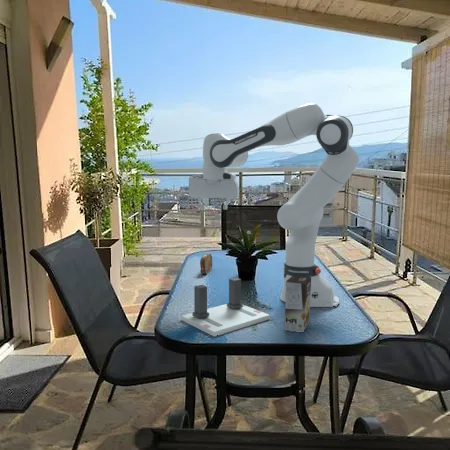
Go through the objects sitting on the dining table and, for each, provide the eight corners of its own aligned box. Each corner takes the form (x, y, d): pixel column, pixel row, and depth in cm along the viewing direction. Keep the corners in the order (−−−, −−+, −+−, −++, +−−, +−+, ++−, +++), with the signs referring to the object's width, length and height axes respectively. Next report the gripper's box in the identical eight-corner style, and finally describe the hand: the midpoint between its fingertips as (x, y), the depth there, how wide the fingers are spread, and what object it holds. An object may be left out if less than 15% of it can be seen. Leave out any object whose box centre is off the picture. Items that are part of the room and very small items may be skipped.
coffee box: (304, 333, 133) (305, 283, 131) (284, 330, 136) (285, 281, 134) (309, 323, 142) (311, 276, 140) (290, 320, 144) (292, 274, 142)
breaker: (226, 306, 153) (227, 278, 151) (235, 304, 155) (235, 277, 154) (234, 309, 150) (234, 281, 148) (242, 307, 152) (243, 279, 151)
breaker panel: (181, 320, 144) (181, 315, 144) (235, 305, 160) (235, 301, 159) (214, 336, 131) (214, 331, 130) (269, 319, 146) (269, 314, 146)
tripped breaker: (192, 315, 143) (192, 286, 142) (202, 313, 146) (201, 284, 145) (199, 319, 140) (199, 288, 139) (209, 316, 143) (209, 286, 141)
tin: (205, 276, 202) (205, 258, 200) (199, 275, 202) (199, 258, 201) (212, 268, 216) (212, 252, 215) (206, 268, 217) (206, 251, 216)
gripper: (186, 174, 170) (186, 209, 172) (237, 175, 167) (237, 210, 169) (190, 174, 176) (190, 207, 178) (239, 174, 173) (239, 209, 175)
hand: (213, 209), depth 173 cm, fingers open, 8 cm apart
